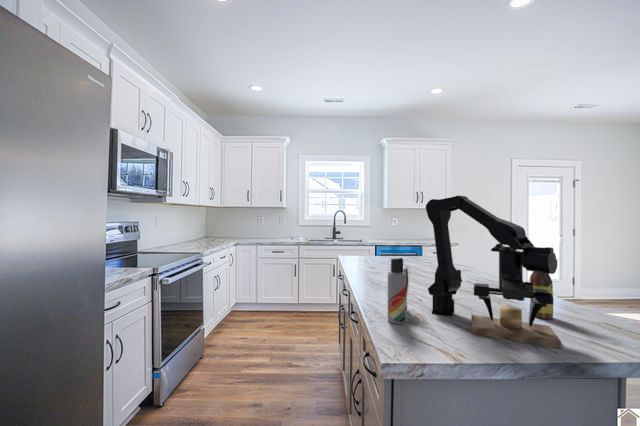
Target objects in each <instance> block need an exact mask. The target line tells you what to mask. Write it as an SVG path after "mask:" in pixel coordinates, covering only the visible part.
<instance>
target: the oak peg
mask: <svg viewBox="0 0 640 426" xmlns="http://www.w3.org/2000/svg"><path fill="white" fill-rule="evenodd" d="M522 313H523V312H522V309H521V308H519V307H515V306H510V305H501V306H500V307H499V319H500V325H501V326H502V327H505V328H509V329H516V330H519V329H522V322H523V321H522V319H523V318H522Z"/></svg>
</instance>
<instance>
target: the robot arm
mask: <svg viewBox="0 0 640 426" xmlns="http://www.w3.org/2000/svg"><path fill="white" fill-rule="evenodd" d="M458 210H460V212H462V213H464V214H465V215H467V216H469V217H470V218H471V219H473V220H474V221H476V222H477V223H479V224H480V225H482V226H483V227H485V229H487V231H488V232H489V234H490V235H491V237H493V239H495V240H496V242H498V243H497V244H496V245H495V246H493V247H492V248H490V251H491V252H496V253H497V252H498V287H490V286H489V284H488V283H479V282H476V283H474V284H473V296H476V297H478V299H479V300H483V302H484V304H485V307H486V309H487V312H488V314H489V317H490V318H491V321H493V318H494V315H493V314H494V313H493V309H492V308H493V307H492V299H491V296H490V295H495V296H496V295H498V296H502V297H503V299H504V300H514V301H517V302H518V301H519V302H523V301H525V299H530V298H532V299H531V300H529V301H530V302H529V310H528V311H529V313H528V323H529V326H532V324H533V323H534V321H535V319H536V318H537V317H536V315H537V313H538V311H539V310H540V309H541V308H542V307H547V304H553V305H554V294H553V295H552V294H551V293H550V292H549V291H547V290H542V289H533V283H532V282H530V281H524V280H523V275H524V274H523V273H524V272H523V271H524V270H523V269H524V268H525V270H526V271H528V272H533V271H534V272H541V273H549V275H553V274H554V275H555V273H556V271H557V269H558V259H557V256H556V253H555V252H554V248H553V247H549V246H547V247H539V246H538V247H537V246H535V244H533V243H532V242H531V240H530V238H528V237H527V234H526V229H525V228H524V227H523V226H521V225H518V224H516V223H513V222H512V221H508V220H505V219H502V218H499V217H498V216H496V215H495V214H493V213H491V212H490V211H488V210H487V209H485V208H483V207H482V206H480V205H479V204H478V203H476V202H474V201H473V200H471V199H469V198H468V196H464V195H454V196H451V197H446V198H441V199H438V198H432V199H429V200H428V201H427V203H426V204H425V211H426V214H427V218H428V219H429V221H430V222H431V224H432V226H433V234H434V242H435V243H434V244H435V250H436V251H435V252H436V259H437V260H436V261H437V267H436V270H435V272H434V282H433V283H432V284H431V285H430V286H429V287H428V288H427V291H428V294H429V295H430V296H432V309H431V314H436V315H443V316H449V317H450V316H451V317H452V316H453V314H454V313H455V299H454V298H453V295H457V291H458V290H459V289H460V288H461V286H462V282H463V279H462V271H461V269H457V268H456V267H455V265H454V262H453V253H452V246H451V237H450V230H449V222H450V219H451V217H452V212H455V211H458Z"/></svg>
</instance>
